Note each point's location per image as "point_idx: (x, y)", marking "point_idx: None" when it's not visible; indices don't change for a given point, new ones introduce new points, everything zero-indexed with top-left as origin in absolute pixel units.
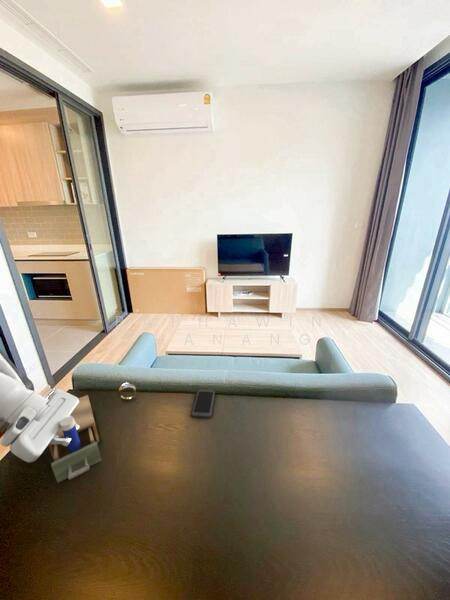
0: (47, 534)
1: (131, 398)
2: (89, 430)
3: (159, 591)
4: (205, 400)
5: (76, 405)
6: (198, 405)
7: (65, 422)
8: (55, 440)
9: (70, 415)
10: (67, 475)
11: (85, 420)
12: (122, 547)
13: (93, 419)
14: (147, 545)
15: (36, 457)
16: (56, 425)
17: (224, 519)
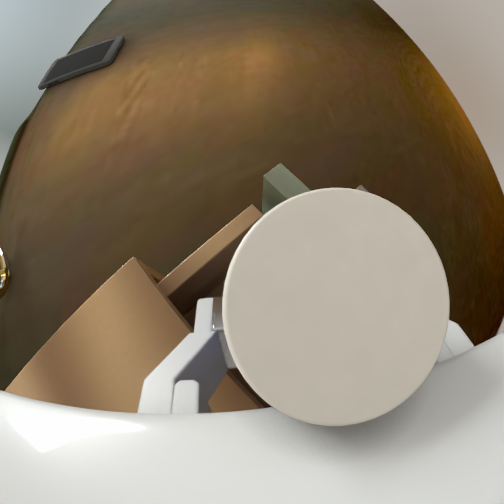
0: (469, 254)
1: (5, 258)
2: (183, 273)
3: (424, 56)
4: (75, 59)
5: (17, 396)
6: (84, 62)
7: (391, 294)
8: (458, 332)
9: (138, 412)
10: None
11: (117, 336)
12: (420, 96)
13: (108, 280)
14: (399, 67)
15: None
16: (421, 425)
17: (325, 6)
